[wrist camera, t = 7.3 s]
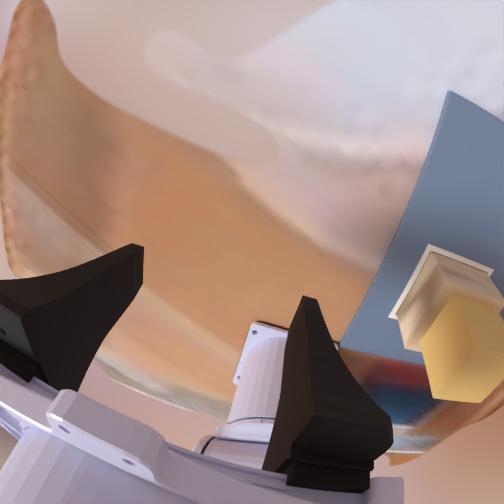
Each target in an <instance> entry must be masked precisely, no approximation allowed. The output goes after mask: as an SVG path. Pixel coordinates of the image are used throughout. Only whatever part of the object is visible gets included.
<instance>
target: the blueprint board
mask: <svg viewBox="0 0 504 504" xmlns="http://www.w3.org/2000/svg"><path fill="white" fill-rule="evenodd" d="M430 252H434V253H437V254H439V255H442V256H445V257H447V258H450V259H453V260H455V261H458V262H460V263H463V264H466V265H468V266H471V267H473V268H476V269H478V270H481V271H483V272H486V273H487V274H488V276H489V277H490V279H491V280H492V281H493V283H494V284H495V286H496V287H497V289H498V290H499V292H500V294H501V295H502V297H503V298H504V122H503V121H501V120H500V119H498V118H497V117H495V116H494V115H492V114H490V113H489V112H487V111H486V110H484V109H482V108H481V107H479V106H477V105H476V104H474V103H472V102H470V101H469V100H467V99H465V98H463V97H461V96H460V95H458V94H456V93H454V92H452V91H448V92H447V96H446V99H445V103H444V106H443V109H442V113H441V116H440V119H439V122H438V125H437V129H436V132H435V135H434V138H433V141H432V144H431V146H430V149H429V152H428V155H427V158H426V161H425V163H424V166H423V169H422V171H421V174H420V177H419V179H418V182H417V184H416V187H415V189H414V192H413V194H412V197H411V199H410V202H409V204H408V207H407V209H406V211H405V214H404V216H403V218H402V221H401V223H400V225H399V228H398V230H397V232H396V234H395V237H394V239H393V241H392V243H391V245H390V247H389V250H388V252H387V254H386V256H385V258H384V260H383V262H382V264H381V266H380V268H379V270H378V272H377V274H376V276H375V278H374V280H373V282H372V284H371V286H370V288H369V290H368V292H367V294H366V296H365V298H364V300H363V302H362V303H361V305H360V307H359V309H358V311H357V313H356V315H355V316H354V318H353V320H352V322H351V324H350V325H349V327H348V329H347V331H346V332H345V334H344V336H343V338H342V339H341V341H340V347H342V348H347V349H351V350H355V351H359V352H363V353H368V354H372V355H377V356H381V357H386V358H390V359H395V360H400V361H404V362H409V363H414V364H419V365H424V366H425V362H424V358H423V354H422V352H418V351H413V350H409V349H405V348H404V343H403V339H402V334H401V330H400V326H399V322H398V318H397V314H396V313H397V312H398V310H399V308H400V307H401V305H402V303H403V302H404V300H405V298H406V296H407V295H408V293H409V291H410V289H411V288H412V286H413V284H414V282H415V281H416V279H417V277H418V275H419V273H420V271H421V270H422V268H423V266H424V264H425V262H426V260H427V258H428V256H429V254H430ZM499 314H500V316H501V318H502V319H503V321H504V307H503V309H502V310H501V312H500V313H499Z"/></svg>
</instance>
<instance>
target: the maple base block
mask: <svg viewBox="0 0 504 504" xmlns="http://www.w3.org/2000/svg"><path fill="white" fill-rule="evenodd" d="M452 293H453V294H456V295H459V296H462V297H465V298H468V299H471V300H474V301H477V302H480V303H483V304H486V305H489V306H492V307H495V308H496V309H497V310H498V312H499V313H500V312H501V310H502V309H503V307H504V298H503V297H502V295H501V294H500V292H499V290H498V289H497V287H496V286H495V284H494V283H493V281H492V280H491V279H490V277H489V276H488V274H487V273H486V272H483V271H481V270H478V269H476V268H473V267H471V266H468V265H466V264H463V263H460V262H458V261H455V260H453V259H450V258H447V257H445V256H442V255H439V254H437V253H434V252H430V254H429V256H428V258H427V260H426V262H425V264H424V266H423V268H422V270H421V271H420V273H419V275H418V277H417V279H416V281H415V282H414V284H413V286H412V288H411V289H410V291H409V293H408V295H407V296H406V298H405V300H404V302H403V303H402V305H401V307H400V308H399V310H398V312H397V313H396V314H397V318H398V322H399V326H400V330H401V334H402V339H403V343H404V348H405V349H409V350H413V351H418V352H422V350H421V347H420V343H419V342H420V341H421V339H422V338H423V337H424V335H425V334H426V332H427V331H428V329H429V328H430V327H431V325H432V324H433V322H434V321H435V319H436V318H437V316H438V315H439V313H440V312H441V310H442V309H443V307H444V306H445V304H446V303H447V301H448V299H449V298H450V296H451V295H452Z"/></svg>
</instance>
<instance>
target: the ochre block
mask: <svg viewBox="0 0 504 504" xmlns="http://www.w3.org/2000/svg"><path fill="white" fill-rule="evenodd" d="M419 343H420V347H421V350H422V354H423V358H424V362H425V366H426V370H427V374H428V378H429V383H430V387H431V392H432V396H433V398H435V399H444V400H453V401H462V402H473V403H481V402H482V401H483V400H484V399H485V398H486V397H487V396H488V395H489V394H490V393H491V392H492V391H493V390H494V389H495V388H496V387H497V386H498V384H499V383H500V382H501V381H502V380H503V379H504V321H503V319H502V318H501V316H500V314H499V312H498V310H497V309H496V308H495V307H492V306H489V305H486V304H483V303H480V302H477V301H474V300H471V299H468V298H465V297H462V296H459V295H456V294H453V293H452V295H451V296H450V298H449V299H448V301H447V303H446V304H445V306H444V307H443V309H442V310H441V312H440V313H439V315H438V316H437V318H436V319H435V321H434V322H433V324H432V325H431V327H430V328H429V329H428V331H427V332H426V334H425V335H424V337H423V338H422V339H421V341H420V342H419Z"/></svg>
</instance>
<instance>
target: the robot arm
mask: <svg viewBox="0 0 504 504" xmlns="http://www.w3.org/2000/svg"><path fill="white" fill-rule="evenodd" d="M143 259H144V247H142V246H139V245H136V244H133V243H132V244H129V245H126V246H124V247H122V248H119V249H117V250H115V251H112V252H110V253H108V254H106V255H103V256H101V257H99V258H96V259H94V260H91V261H89V262H86V263H84V264H81V265H79V266H76V267H73V268H70V269H67V270H64V271H60V272H56V273H52V274H48V275H43V276H38V277H32V278H24V279H13V280H0V425H1V426H2V427H3V428H5V429H6V430H7V431H8V432H9V433H10V434H12V435H13V436H14V437H15V438H17V439H18V440H19V442H18V443H17V445H16V447H15V448H14V450H13V451H12V453H11V454H10V456H9V458H8V460H7V461H6V463H5V464H4V466H3V468H2V470H1V471H0V504H404V482H403V478H401V477H374V478H371V479H370V471H372V470H373V469H374V460H376V459H377V458H378V457H379V456H381V455H382V454H383V453H385V452H386V451H387V450H388V449H389V448H390V447H391V446H392V444H393V442H394V441H393V428H392V422H391V417H390V416H389V415H388V414H386V413H385V412H384V411H383V410H382V409H381V408H380V407H379V406H378V405H377V404H376V403H375V402H374V401H373V400H372V399H371V398H370V397H369V396H368V394H367V393H366V392H365V391H364V390H363V389H362V387H361V386H360V385H359V384H358V382H357V381H356V380H355V378H354V377H353V376H352V374H351V373H350V371H349V370H348V368H347V367H346V365H345V363H344V362H343V360H342V358H341V356H340V355H339V353H338V345H337V344H336V343H334V342H333V340H332V338H331V336H330V333H329V331H328V329H327V326H326V324H325V321H324V318H323V315H322V313H321V310H320V307H319V304H318V301H317V299H314V298H310V297H307V296H302V299H301V301H300V304H299V306H298V309H297V311H296V313H295V316H294V318H293V321H292V323H291V325H290V328H289V331H288V330H284V329H281V328H277V327H274V326H270V325H267V324H263V323H260V322H253V323H252V324H251V327H250V330H249V333H248V337H247V340H246V343H245V346H244V349H243V352H242V355H241V359H240V362H239V365H238V368H237V371H236V374H235V377H234V380H233V383H234V384H235V385H238V386H237V389H236V393H235V396H234V400H233V403H232V406H231V410H230V413H229V417H228V420H227V423H226V424H218V426H217V429H216V432H215V435H214V436H213V435H208V436H205V437H203V438H202V439H201V440H200V441H199V442H198V443H197V444H196V445H195V446H194V447H193V449H192V450H188V449H185V448H182V447H179V446H176V445H173V444H171V443H168V442H166V441H165V439H164V437H163V436H162V435H161V434H160V433H158V432H157V431H155V430H154V429H153V428H152V427H149V426H148V425H146V424H144V423H142V422H140V421H138V420H135V419H133V418H131V417H128V416H126V415H124V414H122V413H120V412H117V411H115V410H113V409H111V408H109V407H107V406H104V405H103V404H100V403H98V402H96V401H94V400H92V399H90V398H88V397H87V396H85V395H82V394H81V393H79V392H78V390H79V387H80V385H81V383H82V381H83V378H84V376H85V374H86V371H87V370H88V368H89V366H90V363H91V362H92V360H93V358H94V356H95V354H96V352H97V350H98V349H99V347H100V345H101V343H102V342H103V340H104V338H105V337H106V335H107V334H108V332H109V331H110V330H111V329H112V327H113V326H114V325H115V323H116V322H117V321H118V319H119V318H120V317H121V315H122V314H123V313H124V312H125V310H126V309H127V308H128V306H129V305H130V304H131V302H132V301H133V300H134V298H135V296H136V294H137V293H138V291H139V289H140V287H141V286H142V284H143ZM254 330H255V331H257V332H255V331H254Z"/></svg>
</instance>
